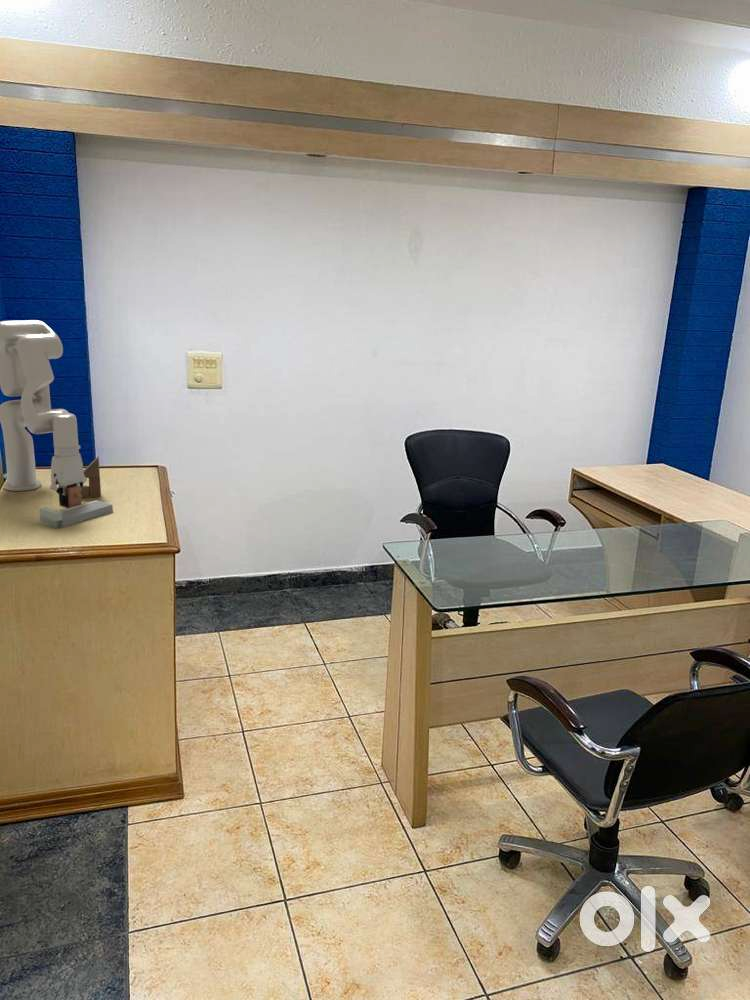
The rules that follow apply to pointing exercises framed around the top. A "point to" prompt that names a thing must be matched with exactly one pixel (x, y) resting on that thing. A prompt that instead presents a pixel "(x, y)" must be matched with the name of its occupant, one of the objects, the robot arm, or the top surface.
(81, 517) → the grey board
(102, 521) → the top surface
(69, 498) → the brown block
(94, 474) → the brown forked upright piece
